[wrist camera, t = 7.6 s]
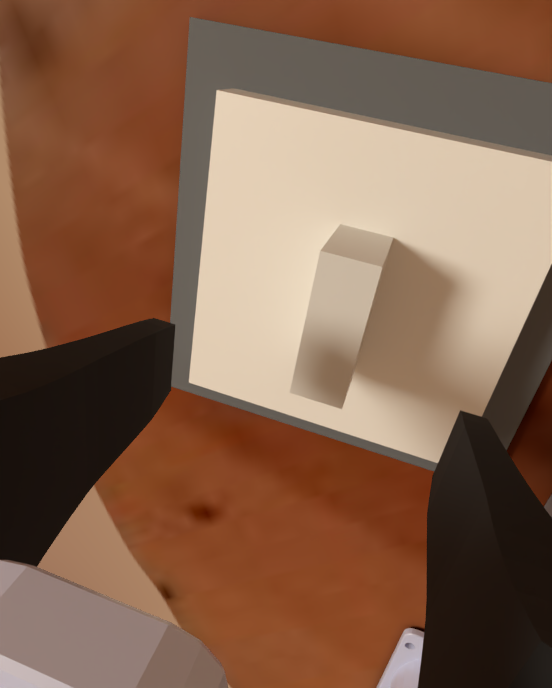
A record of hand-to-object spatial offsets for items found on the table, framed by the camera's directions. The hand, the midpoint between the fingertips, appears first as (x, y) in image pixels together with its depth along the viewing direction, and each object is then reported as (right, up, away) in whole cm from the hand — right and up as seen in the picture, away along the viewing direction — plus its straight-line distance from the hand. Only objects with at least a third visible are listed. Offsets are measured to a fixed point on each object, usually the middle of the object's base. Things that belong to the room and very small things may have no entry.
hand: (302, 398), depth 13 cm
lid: (+2, +4, +7) cm, 8 cm away
